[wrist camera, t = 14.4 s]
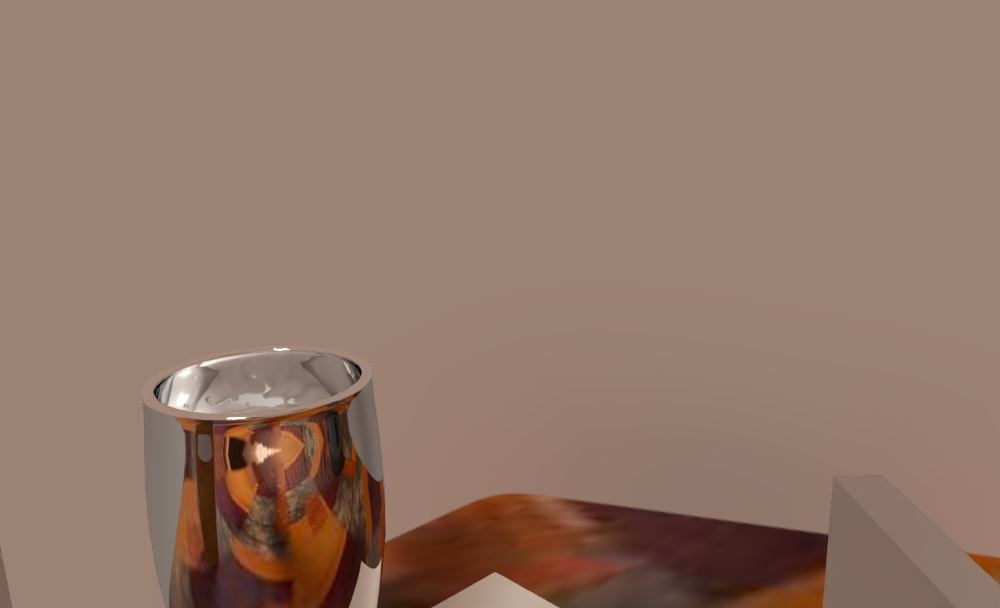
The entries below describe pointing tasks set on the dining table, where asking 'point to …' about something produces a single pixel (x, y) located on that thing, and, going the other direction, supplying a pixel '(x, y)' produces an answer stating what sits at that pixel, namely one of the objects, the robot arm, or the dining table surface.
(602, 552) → the dining table surface
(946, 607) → the robot arm
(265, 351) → the beer glass
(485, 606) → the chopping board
